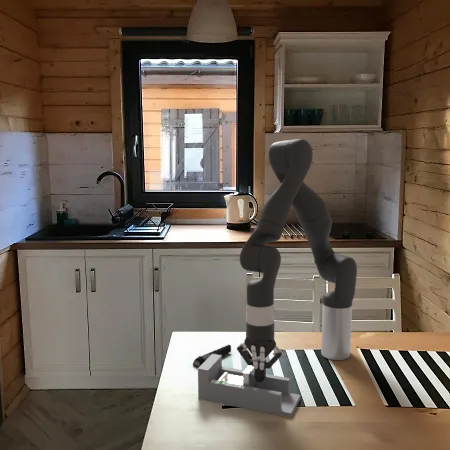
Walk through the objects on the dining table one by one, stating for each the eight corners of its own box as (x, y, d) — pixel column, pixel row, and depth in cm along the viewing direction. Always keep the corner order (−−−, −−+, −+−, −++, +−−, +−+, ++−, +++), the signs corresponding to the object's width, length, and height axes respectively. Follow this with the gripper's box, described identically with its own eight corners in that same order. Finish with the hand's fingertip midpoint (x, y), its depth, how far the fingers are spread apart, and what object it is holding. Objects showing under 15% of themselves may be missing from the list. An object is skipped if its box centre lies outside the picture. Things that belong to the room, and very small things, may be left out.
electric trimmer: (234, 354, 175) (234, 345, 175) (200, 370, 164) (200, 360, 164) (225, 351, 178) (225, 342, 177) (191, 366, 167) (191, 356, 166)
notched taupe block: (233, 386, 151) (233, 360, 150) (255, 390, 149) (255, 364, 147) (225, 396, 146) (225, 369, 144) (248, 400, 143) (248, 373, 142)
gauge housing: (212, 382, 156) (212, 353, 154) (300, 399, 146) (301, 368, 145) (198, 399, 147) (197, 368, 145) (291, 417, 137) (291, 385, 136)
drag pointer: (226, 384, 152) (226, 367, 151) (233, 386, 151) (233, 368, 150) (215, 398, 144) (215, 380, 143) (222, 399, 144) (222, 381, 143)
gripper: (288, 317, 142) (287, 378, 145) (241, 311, 147) (241, 370, 150) (280, 327, 135) (280, 391, 138) (231, 321, 140) (232, 382, 143)
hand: (260, 380), depth 144 cm, fingers closed
